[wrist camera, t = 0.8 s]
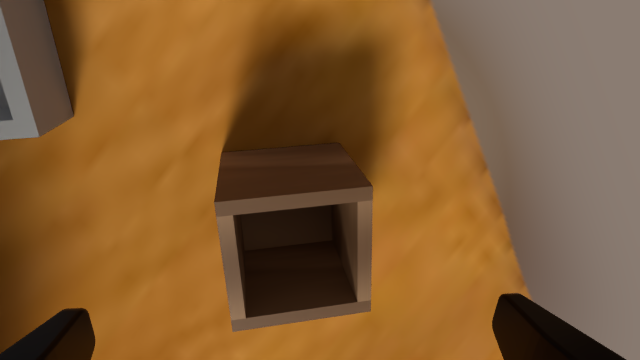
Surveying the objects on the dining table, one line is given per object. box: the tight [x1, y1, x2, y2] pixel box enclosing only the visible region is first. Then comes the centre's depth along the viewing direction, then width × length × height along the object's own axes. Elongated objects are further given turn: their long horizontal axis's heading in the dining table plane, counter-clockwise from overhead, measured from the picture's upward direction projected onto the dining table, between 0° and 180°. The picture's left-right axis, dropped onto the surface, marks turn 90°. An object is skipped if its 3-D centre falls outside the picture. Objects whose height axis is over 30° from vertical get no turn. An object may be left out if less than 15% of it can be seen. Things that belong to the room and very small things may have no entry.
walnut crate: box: [214, 143, 373, 332], centre depth 19 cm, size 6×6×6 cm
